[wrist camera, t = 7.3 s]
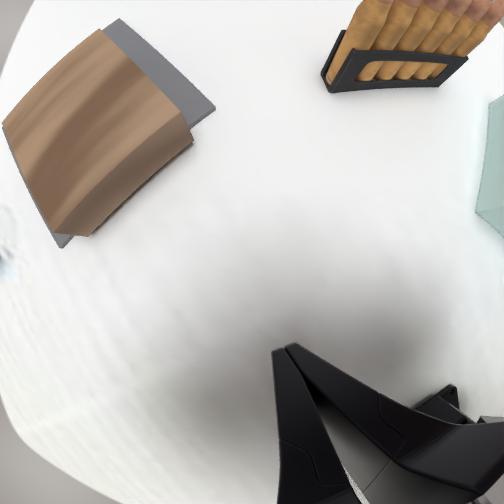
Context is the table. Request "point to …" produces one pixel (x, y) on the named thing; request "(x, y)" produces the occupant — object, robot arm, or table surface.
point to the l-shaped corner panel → (493, 170)
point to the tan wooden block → (92, 135)
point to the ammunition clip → (407, 43)
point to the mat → (160, 74)
